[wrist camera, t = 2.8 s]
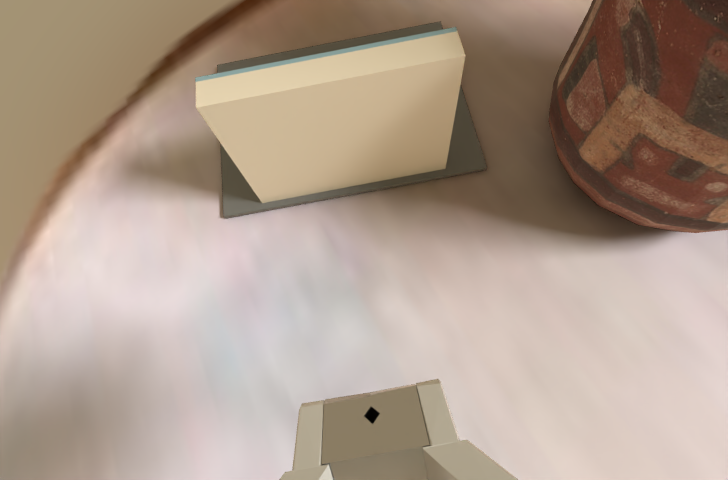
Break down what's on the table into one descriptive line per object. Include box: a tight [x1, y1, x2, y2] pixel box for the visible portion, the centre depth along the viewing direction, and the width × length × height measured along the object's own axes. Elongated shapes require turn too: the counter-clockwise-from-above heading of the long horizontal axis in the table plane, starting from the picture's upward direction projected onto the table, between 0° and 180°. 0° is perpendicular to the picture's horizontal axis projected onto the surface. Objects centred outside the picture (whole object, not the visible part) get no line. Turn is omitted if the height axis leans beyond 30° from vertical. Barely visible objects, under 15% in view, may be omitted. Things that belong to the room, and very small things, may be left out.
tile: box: [195, 27, 466, 203], centre depth 27 cm, size 14×2×11 cm, turn 99°
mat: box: [217, 22, 487, 218], centre depth 35 cm, size 20×15×1 cm
